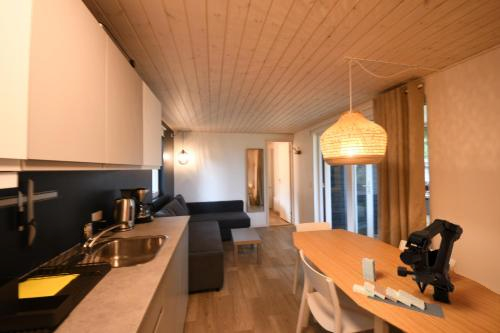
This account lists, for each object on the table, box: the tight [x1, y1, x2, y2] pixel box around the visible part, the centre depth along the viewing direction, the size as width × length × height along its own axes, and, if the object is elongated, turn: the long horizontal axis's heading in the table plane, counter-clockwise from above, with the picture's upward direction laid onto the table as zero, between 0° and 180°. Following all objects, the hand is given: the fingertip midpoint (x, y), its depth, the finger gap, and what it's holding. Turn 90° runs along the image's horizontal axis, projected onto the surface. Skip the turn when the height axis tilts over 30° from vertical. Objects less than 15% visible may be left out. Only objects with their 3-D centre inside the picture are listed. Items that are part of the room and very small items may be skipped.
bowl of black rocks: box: [408, 245, 451, 272], centre depth 129 cm, size 20×20×19 cm
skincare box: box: [361, 257, 377, 283], centre depth 128 cm, size 6×4×12 cm
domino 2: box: [362, 280, 385, 299], centre depth 113 cm, size 5×2×10 cm
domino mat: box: [366, 295, 446, 320], centre depth 106 cm, size 10×30×1 cm, turn 56°
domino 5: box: [397, 289, 425, 310], centre depth 104 cm, size 5×2×10 cm
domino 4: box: [386, 286, 411, 306], centre depth 107 cm, size 5×2×10 cm
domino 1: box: [352, 283, 375, 297], centre depth 116 cm, size 5×2×10 cm
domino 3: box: [374, 283, 397, 302], centre depth 110 cm, size 5×2×10 cm
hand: (422, 293), depth 102 cm, fingers closed
